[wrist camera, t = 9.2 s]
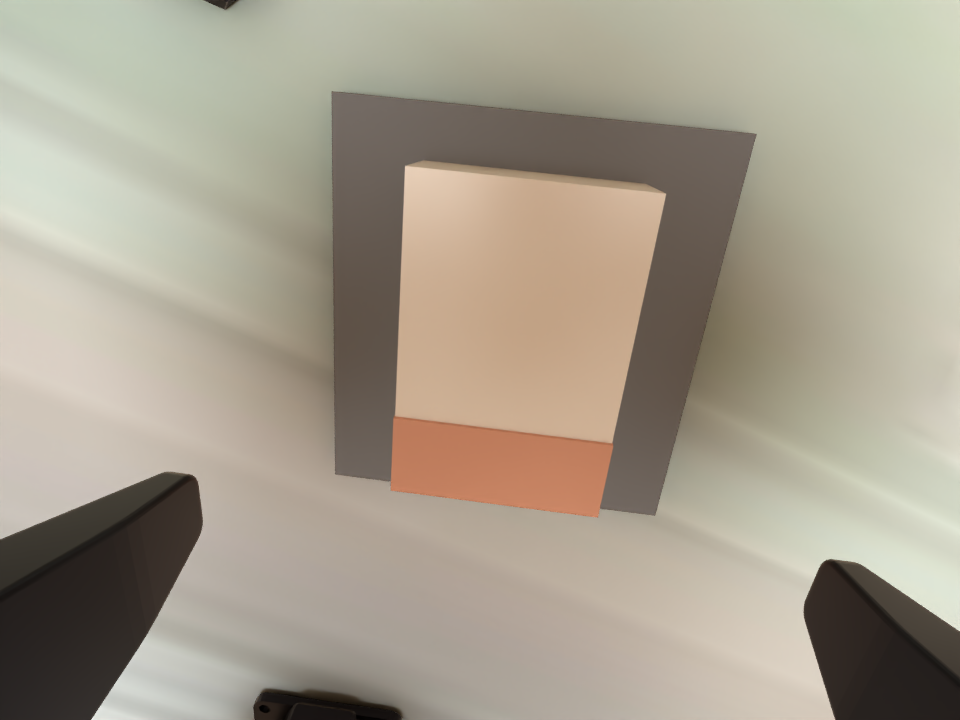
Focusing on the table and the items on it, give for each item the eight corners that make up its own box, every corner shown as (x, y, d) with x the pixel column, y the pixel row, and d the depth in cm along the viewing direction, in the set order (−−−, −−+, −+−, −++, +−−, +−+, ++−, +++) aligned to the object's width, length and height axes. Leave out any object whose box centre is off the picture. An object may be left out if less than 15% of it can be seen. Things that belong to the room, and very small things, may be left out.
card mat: (651, 504, 19) (654, 515, 19) (340, 464, 20) (335, 474, 19) (747, 133, 15) (756, 133, 14) (338, 92, 15) (331, 91, 15)
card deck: (646, 184, 15) (668, 194, 13) (589, 468, 18) (597, 517, 16) (422, 160, 15) (403, 166, 13) (407, 445, 19) (390, 490, 16)
